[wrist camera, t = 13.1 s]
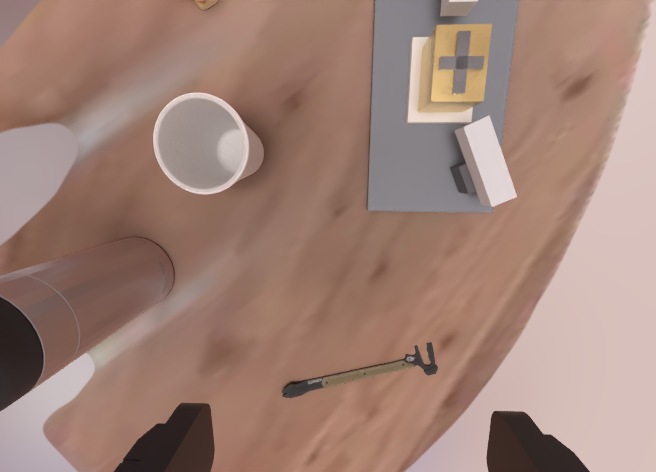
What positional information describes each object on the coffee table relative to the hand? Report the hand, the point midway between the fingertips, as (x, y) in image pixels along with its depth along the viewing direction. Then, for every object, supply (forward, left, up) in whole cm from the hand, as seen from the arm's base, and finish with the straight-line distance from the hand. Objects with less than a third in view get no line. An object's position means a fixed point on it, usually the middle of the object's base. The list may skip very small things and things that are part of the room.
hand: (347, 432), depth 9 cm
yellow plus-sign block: (+9, +16, -27) cm, 33 cm away
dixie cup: (-13, +9, -29) cm, 33 cm away
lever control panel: (+9, +16, -29) cm, 34 cm away
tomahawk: (+1, -18, -29) cm, 34 cm away
